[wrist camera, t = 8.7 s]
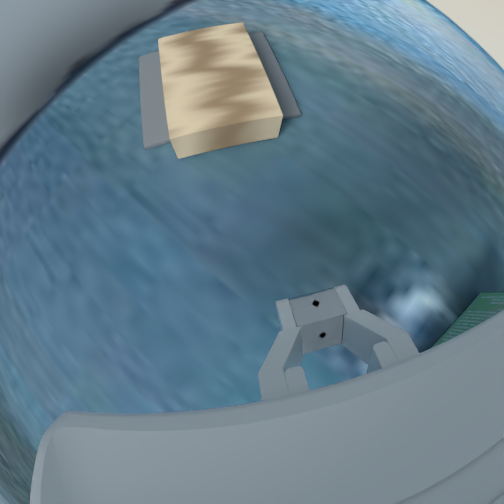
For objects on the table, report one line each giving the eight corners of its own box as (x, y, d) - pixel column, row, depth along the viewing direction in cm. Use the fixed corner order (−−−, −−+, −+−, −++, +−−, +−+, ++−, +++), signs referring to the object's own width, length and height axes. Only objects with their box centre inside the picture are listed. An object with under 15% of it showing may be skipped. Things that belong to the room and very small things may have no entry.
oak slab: (277, 137, 24) (242, 44, 26) (283, 115, 20) (242, 22, 22) (178, 158, 23) (164, 60, 25) (169, 139, 20) (158, 38, 21)
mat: (262, 34, 26) (262, 31, 26) (300, 116, 25) (301, 114, 24) (139, 58, 25) (139, 56, 25) (145, 149, 24) (144, 147, 23)
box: (397, 375, 22) (445, 398, 14) (477, 290, 23) (526, 287, 16) (420, 422, 21) (462, 448, 14) (493, 339, 22) (538, 344, 15)
